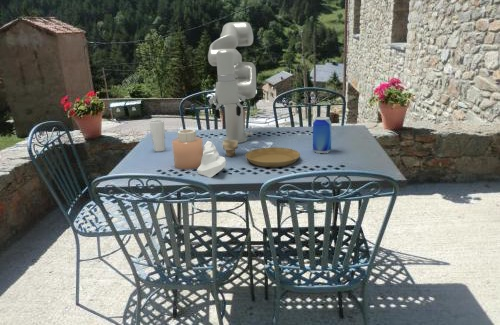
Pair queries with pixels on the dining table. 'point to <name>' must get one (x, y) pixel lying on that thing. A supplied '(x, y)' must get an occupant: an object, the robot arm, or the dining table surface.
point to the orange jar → (187, 149)
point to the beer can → (322, 135)
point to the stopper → (230, 147)
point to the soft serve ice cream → (211, 161)
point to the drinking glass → (158, 134)
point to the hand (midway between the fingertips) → (228, 116)
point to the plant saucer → (272, 156)
